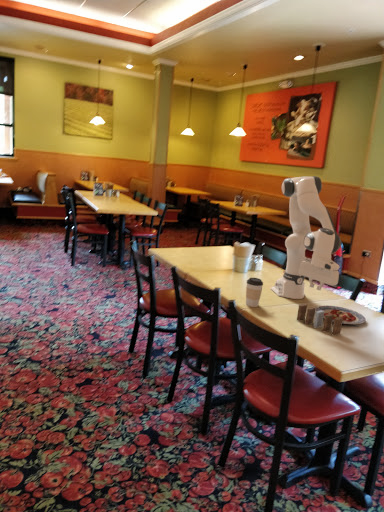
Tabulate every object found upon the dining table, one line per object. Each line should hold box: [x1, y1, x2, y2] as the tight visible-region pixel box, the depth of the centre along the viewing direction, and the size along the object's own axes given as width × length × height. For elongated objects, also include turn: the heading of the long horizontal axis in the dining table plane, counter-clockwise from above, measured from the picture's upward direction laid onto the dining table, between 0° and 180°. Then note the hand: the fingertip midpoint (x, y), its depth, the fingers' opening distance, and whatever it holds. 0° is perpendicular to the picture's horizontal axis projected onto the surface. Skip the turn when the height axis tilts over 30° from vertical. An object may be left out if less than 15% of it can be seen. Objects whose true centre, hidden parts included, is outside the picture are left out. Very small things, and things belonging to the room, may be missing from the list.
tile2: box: [304, 306, 317, 325], centre depth 210 cm, size 2×5×8 cm, turn 131°
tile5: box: [331, 317, 343, 336], centre depth 199 cm, size 2×5×8 cm, turn 131°
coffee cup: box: [245, 277, 264, 308], centre depth 228 cm, size 9×9×15 cm
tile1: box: [296, 303, 308, 322], centre depth 214 cm, size 2×5×8 cm, turn 131°
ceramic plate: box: [315, 305, 366, 325], centre depth 223 cm, size 26×26×3 cm
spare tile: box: [312, 310, 324, 329], centre depth 206 cm, size 2×5×8 cm, turn 130°
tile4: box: [322, 314, 333, 333], centre depth 203 cm, size 2×5×8 cm, turn 131°
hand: (315, 288), depth 207 cm, fingers open, 3 cm apart
